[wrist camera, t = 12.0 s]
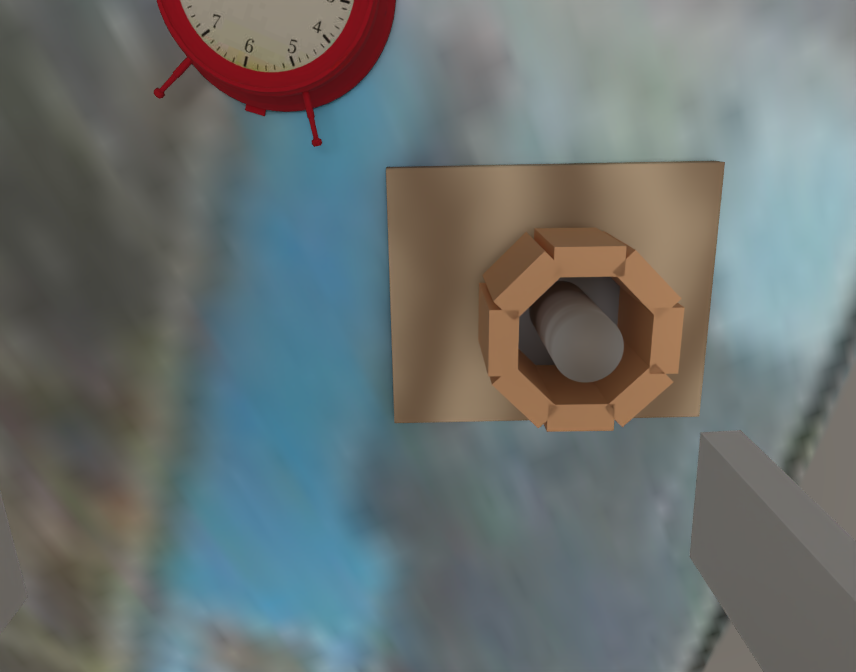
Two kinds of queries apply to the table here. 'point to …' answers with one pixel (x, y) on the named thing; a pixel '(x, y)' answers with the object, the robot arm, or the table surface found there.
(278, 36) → the alarm clock
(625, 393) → the ring
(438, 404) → the post board
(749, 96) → the table surface
